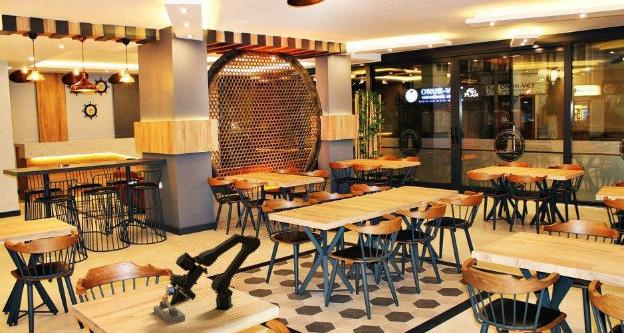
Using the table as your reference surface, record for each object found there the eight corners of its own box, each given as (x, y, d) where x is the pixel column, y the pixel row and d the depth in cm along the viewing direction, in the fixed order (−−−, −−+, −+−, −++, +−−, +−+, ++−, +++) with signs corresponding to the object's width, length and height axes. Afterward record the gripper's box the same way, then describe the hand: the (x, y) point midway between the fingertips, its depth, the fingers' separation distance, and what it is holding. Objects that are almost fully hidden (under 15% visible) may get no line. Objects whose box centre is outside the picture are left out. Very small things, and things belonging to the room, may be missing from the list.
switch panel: (185, 320, 251) (184, 310, 250) (168, 324, 246) (167, 314, 246) (170, 307, 267) (169, 298, 267) (153, 311, 263) (153, 302, 263)
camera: (170, 288, 299) (169, 274, 298) (190, 286, 300) (190, 273, 299) (167, 295, 286) (166, 281, 285) (188, 294, 288) (187, 280, 287)
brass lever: (177, 312, 251) (166, 295, 248) (172, 316, 250) (161, 298, 246) (175, 311, 253) (164, 293, 250) (170, 314, 252) (160, 297, 249)
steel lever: (166, 307, 262) (172, 286, 262) (161, 306, 260) (167, 285, 261) (165, 305, 264) (170, 284, 265) (159, 305, 262) (165, 284, 263)
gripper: (172, 262, 259) (150, 290, 254) (187, 271, 244) (164, 301, 239) (189, 275, 264) (168, 303, 259) (205, 285, 249) (183, 314, 244)
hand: (170, 305), depth 250 cm, fingers closed, pressing on brass lever
